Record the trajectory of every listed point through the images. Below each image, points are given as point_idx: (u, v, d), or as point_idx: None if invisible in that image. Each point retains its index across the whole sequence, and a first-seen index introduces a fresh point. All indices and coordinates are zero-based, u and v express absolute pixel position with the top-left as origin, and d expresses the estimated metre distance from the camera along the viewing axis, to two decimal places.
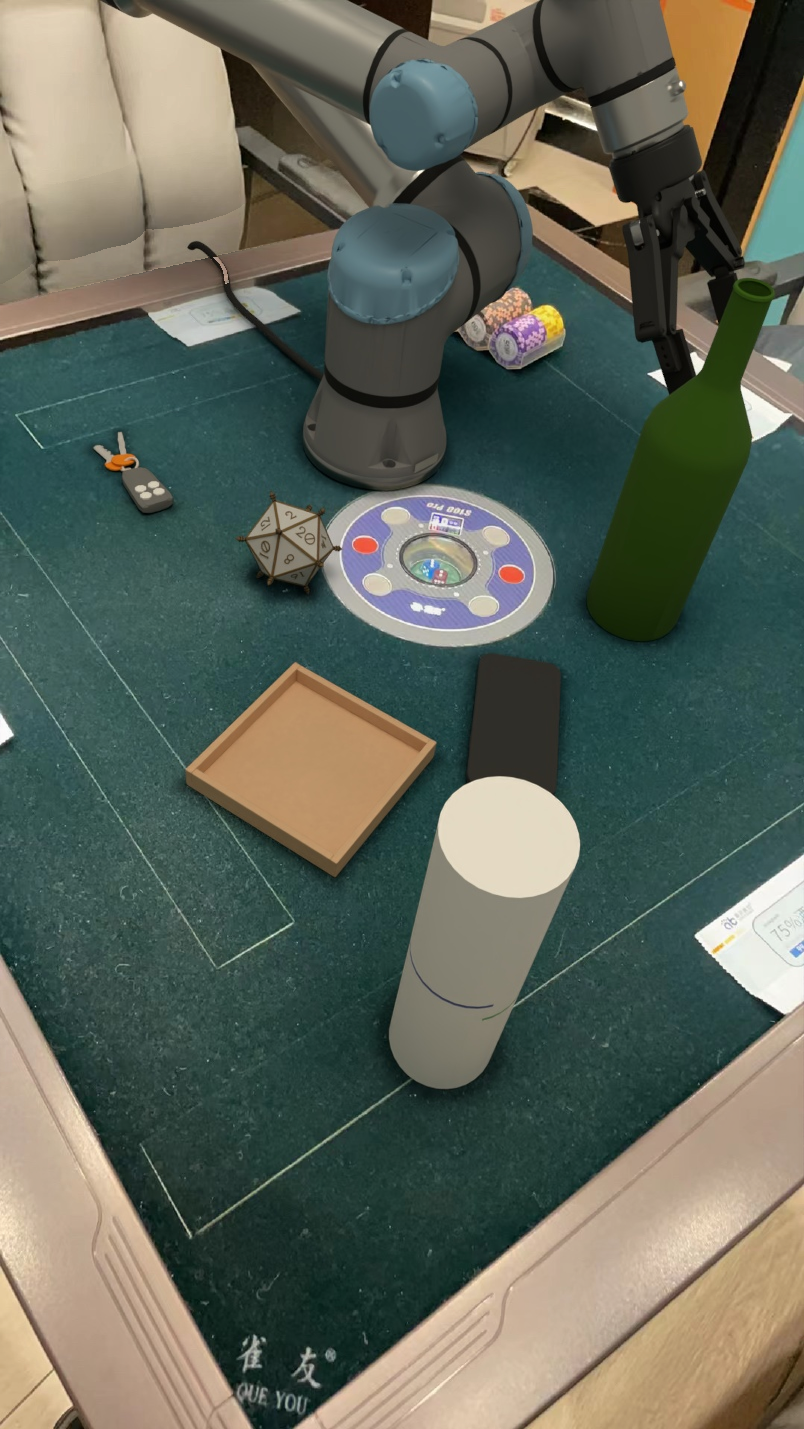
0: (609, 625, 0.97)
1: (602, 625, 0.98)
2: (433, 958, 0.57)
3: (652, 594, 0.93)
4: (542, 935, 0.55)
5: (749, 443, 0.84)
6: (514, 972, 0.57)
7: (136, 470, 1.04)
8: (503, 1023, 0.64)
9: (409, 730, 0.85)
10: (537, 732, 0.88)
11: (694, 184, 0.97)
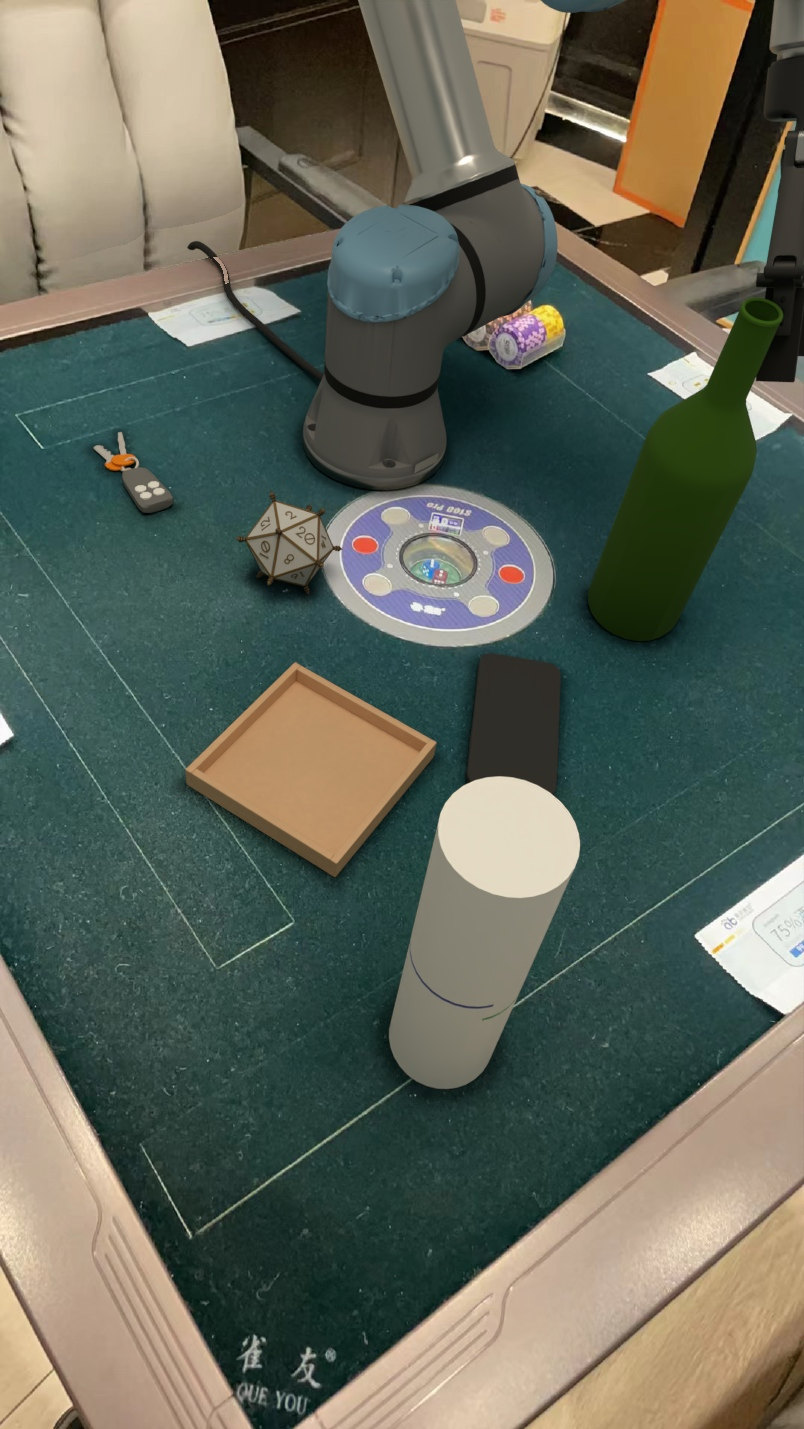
0: (609, 625, 0.97)
1: (602, 624, 0.98)
2: (433, 958, 0.57)
3: (652, 600, 0.93)
4: (542, 935, 0.55)
5: (753, 459, 0.82)
6: (514, 972, 0.57)
7: (136, 470, 1.04)
8: (503, 1023, 0.64)
9: (409, 730, 0.85)
10: (537, 732, 0.88)
11: None
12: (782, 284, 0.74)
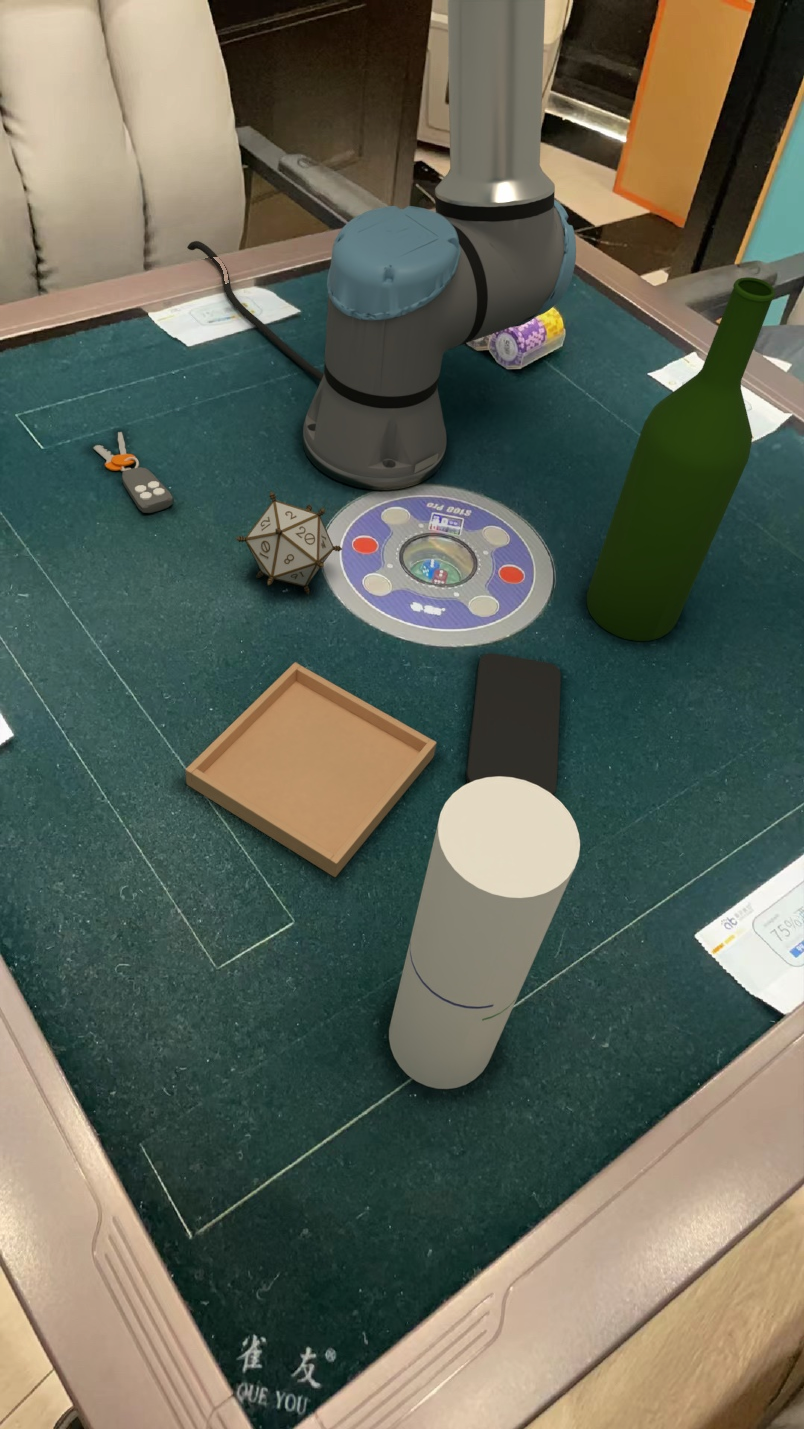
0: (609, 625, 0.97)
1: (602, 625, 0.98)
2: (433, 958, 0.57)
3: (652, 594, 0.93)
4: (542, 935, 0.55)
5: (749, 443, 0.84)
6: (514, 972, 0.57)
7: (136, 470, 1.04)
8: (503, 1023, 0.64)
9: (409, 730, 0.85)
10: (537, 732, 0.88)
11: None
12: None
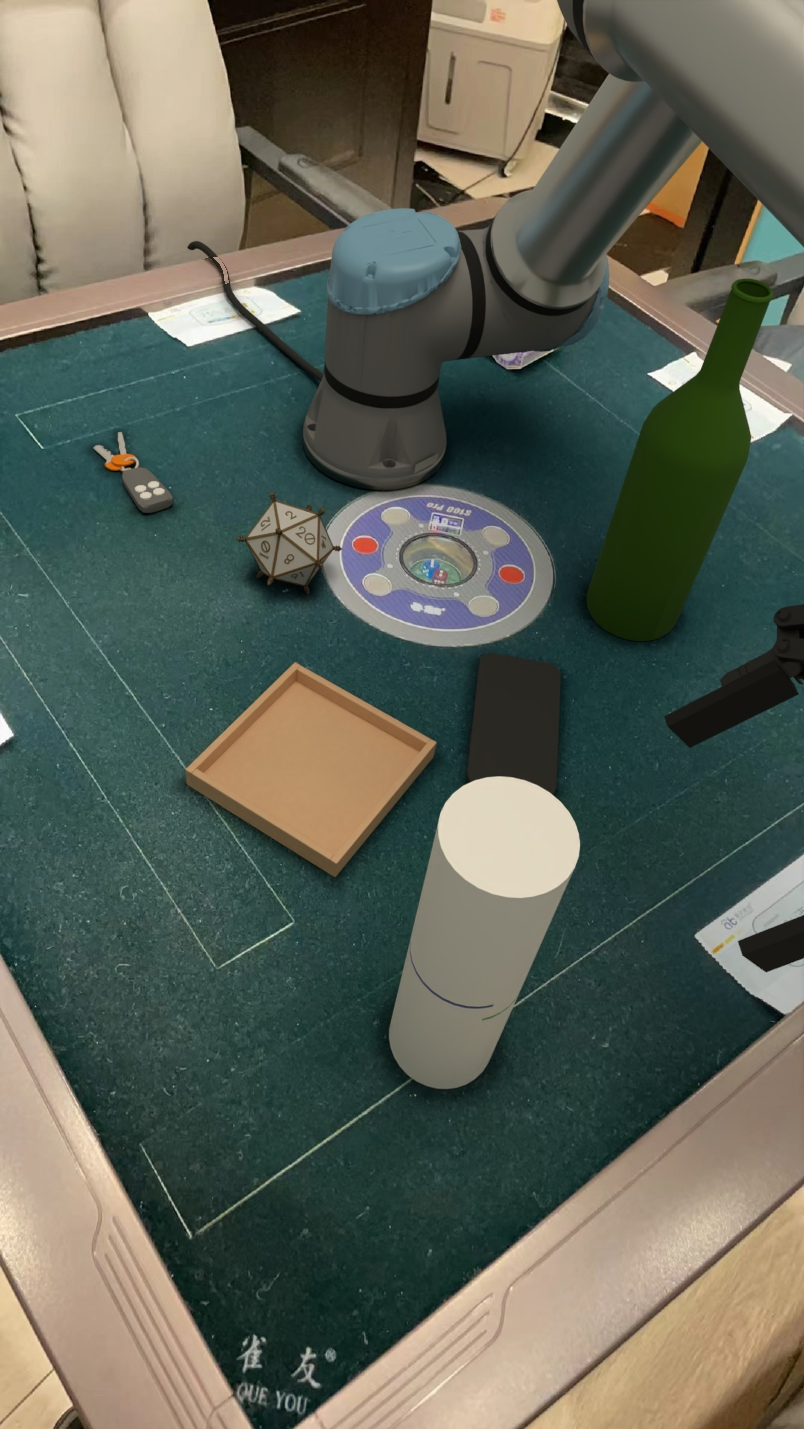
0: (609, 625, 0.97)
1: (602, 625, 0.98)
2: (433, 958, 0.57)
3: (652, 594, 0.93)
4: (542, 935, 0.55)
5: (748, 443, 0.84)
6: (514, 972, 0.57)
7: (136, 470, 1.04)
8: (503, 1023, 0.64)
9: (409, 730, 0.85)
10: (537, 732, 0.88)
11: None
12: None
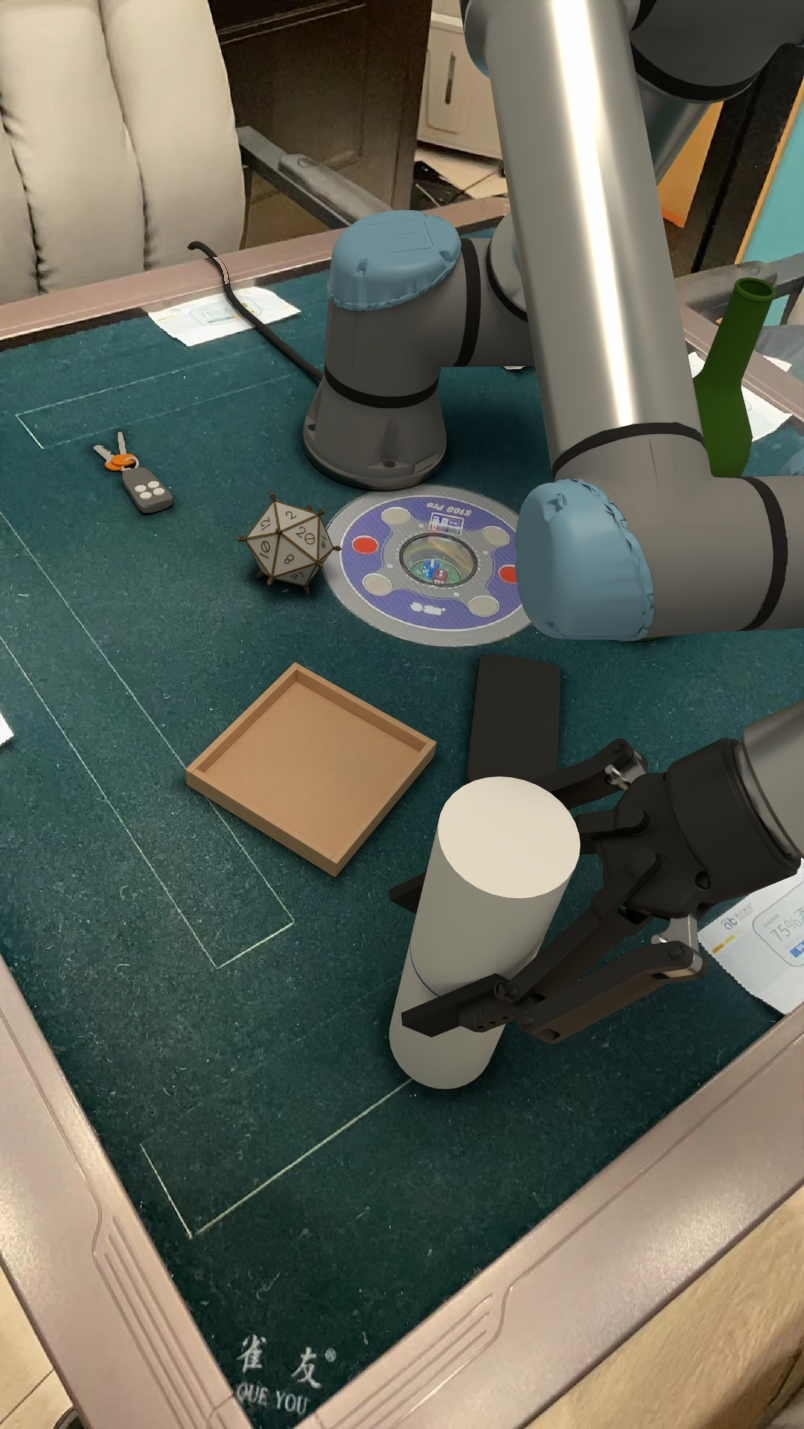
0: None
1: None
2: (434, 958, 0.57)
3: None
4: (542, 935, 0.55)
5: (750, 442, 0.84)
6: (515, 972, 0.57)
7: (136, 470, 1.04)
8: None
9: (409, 730, 0.85)
10: (537, 732, 0.88)
11: None
12: None
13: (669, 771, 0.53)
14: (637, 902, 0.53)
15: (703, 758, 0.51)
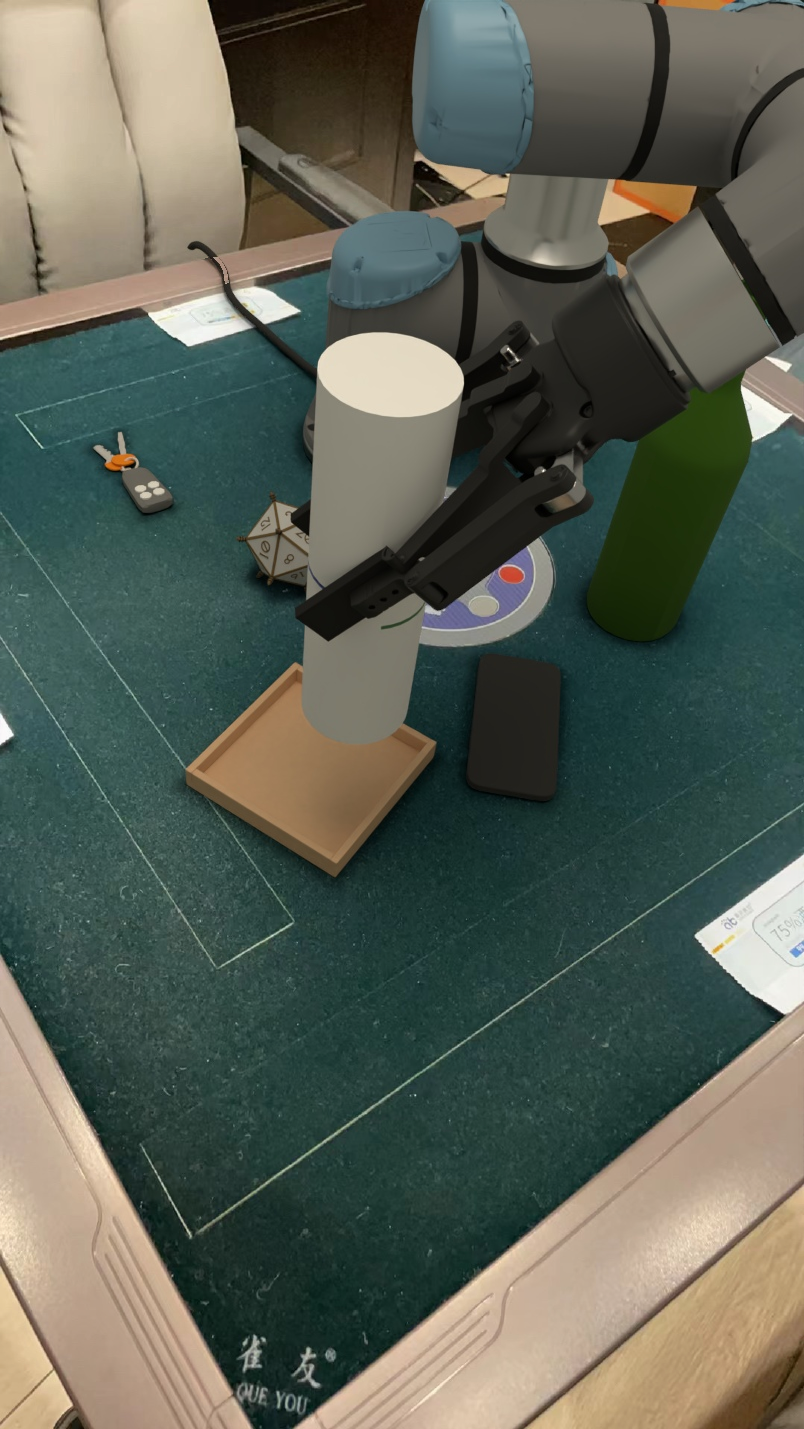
0: (609, 625, 0.97)
1: (602, 625, 0.98)
2: (325, 541, 0.56)
3: (653, 595, 0.93)
4: (432, 504, 0.54)
5: (749, 444, 0.84)
6: None
7: (136, 470, 1.04)
8: (407, 650, 0.63)
9: (409, 730, 0.85)
10: (537, 732, 0.88)
11: None
12: None
13: (556, 311, 0.51)
14: (524, 449, 0.52)
15: (588, 287, 0.50)
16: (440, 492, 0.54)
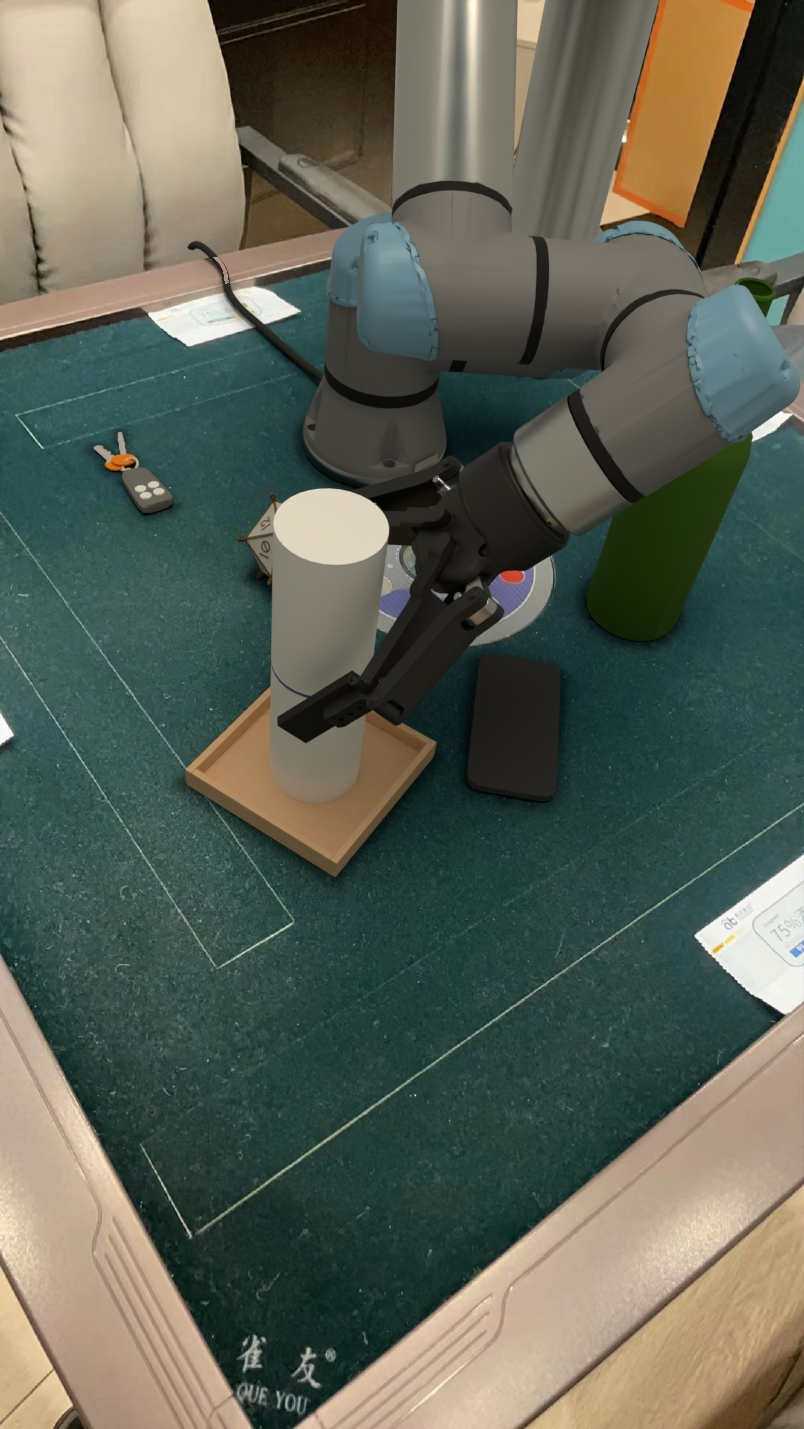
0: (610, 625, 0.97)
1: (603, 625, 0.98)
2: (282, 649, 0.70)
3: (653, 594, 0.93)
4: (367, 622, 0.68)
5: (750, 442, 0.84)
6: (348, 658, 0.69)
7: (136, 470, 1.04)
8: (354, 730, 0.77)
9: (409, 730, 0.85)
10: (537, 732, 0.88)
11: None
12: None
13: (462, 469, 0.65)
14: (437, 577, 0.65)
15: (486, 453, 0.64)
16: (373, 613, 0.68)
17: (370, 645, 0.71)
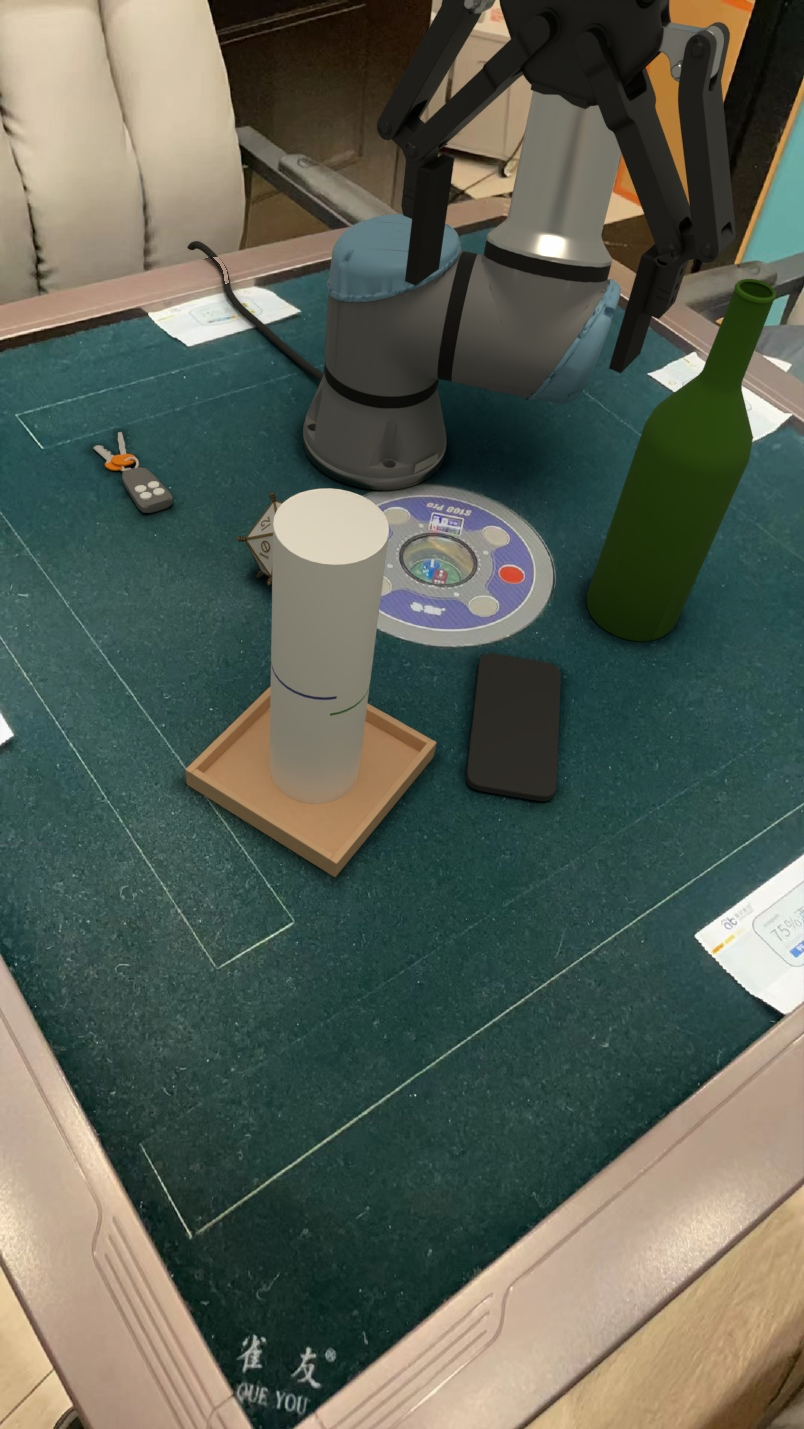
0: (610, 626, 0.97)
1: (603, 626, 0.98)
2: (282, 649, 0.70)
3: (653, 594, 0.93)
4: (367, 622, 0.68)
5: (750, 443, 0.84)
6: (348, 658, 0.69)
7: (136, 470, 1.04)
8: (354, 730, 0.77)
9: (409, 730, 0.85)
10: (537, 732, 0.88)
11: None
12: None
13: None
14: None
15: None
16: (373, 613, 0.68)
17: (370, 645, 0.71)
